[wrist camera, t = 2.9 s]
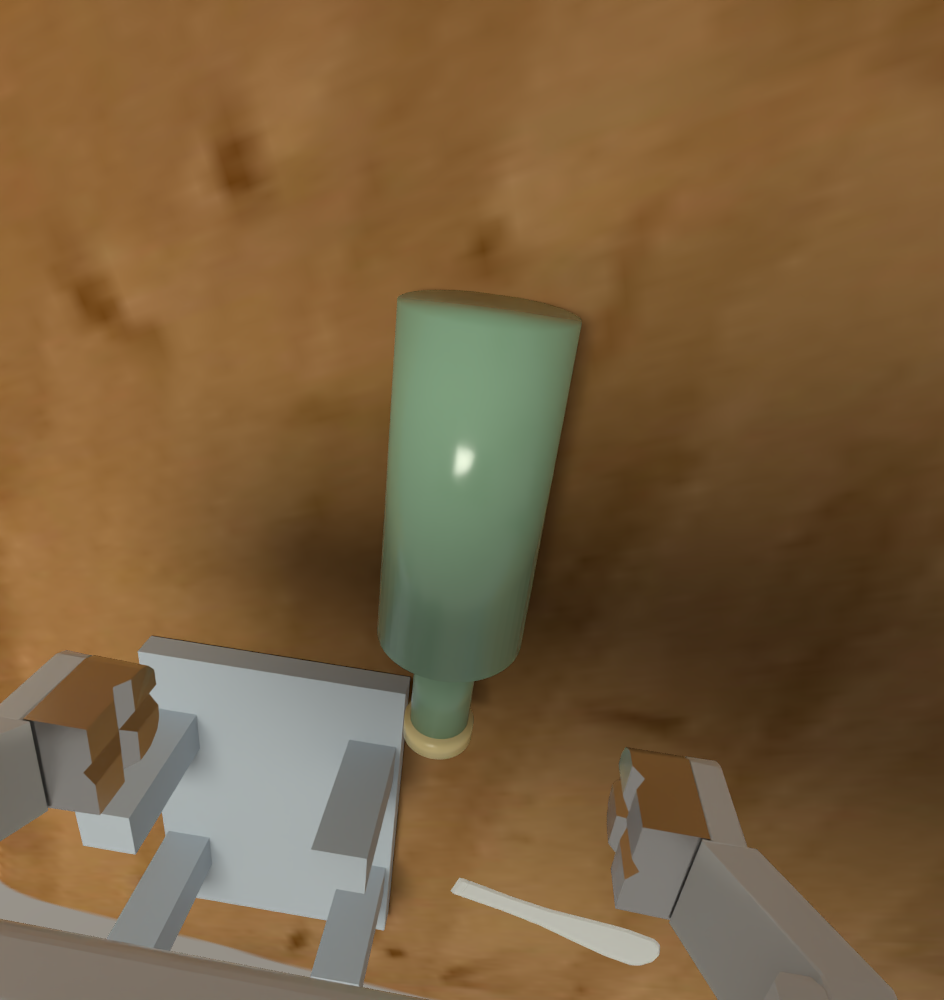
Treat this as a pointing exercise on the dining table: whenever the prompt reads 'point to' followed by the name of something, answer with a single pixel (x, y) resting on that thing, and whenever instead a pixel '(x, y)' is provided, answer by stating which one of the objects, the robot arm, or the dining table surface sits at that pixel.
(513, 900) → the butter knife
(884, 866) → the dining table surface
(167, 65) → the dining table surface
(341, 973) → the rest
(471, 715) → the bottle
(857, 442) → the dining table surface
